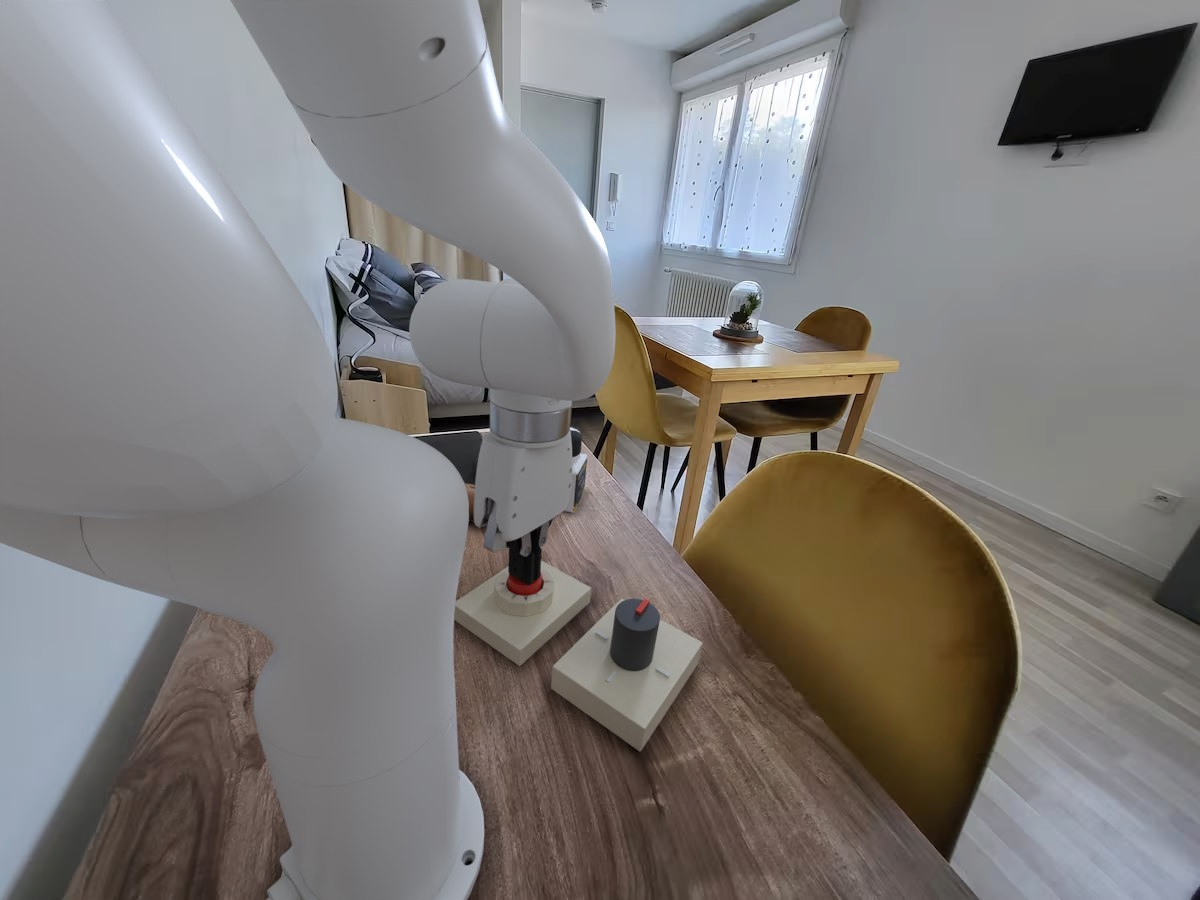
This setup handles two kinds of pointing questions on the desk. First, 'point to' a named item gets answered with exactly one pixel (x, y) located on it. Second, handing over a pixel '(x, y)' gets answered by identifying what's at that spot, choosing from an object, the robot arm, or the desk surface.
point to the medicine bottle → (577, 471)
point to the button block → (521, 612)
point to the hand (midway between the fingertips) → (524, 576)
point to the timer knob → (634, 634)
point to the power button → (524, 586)
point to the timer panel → (625, 679)
